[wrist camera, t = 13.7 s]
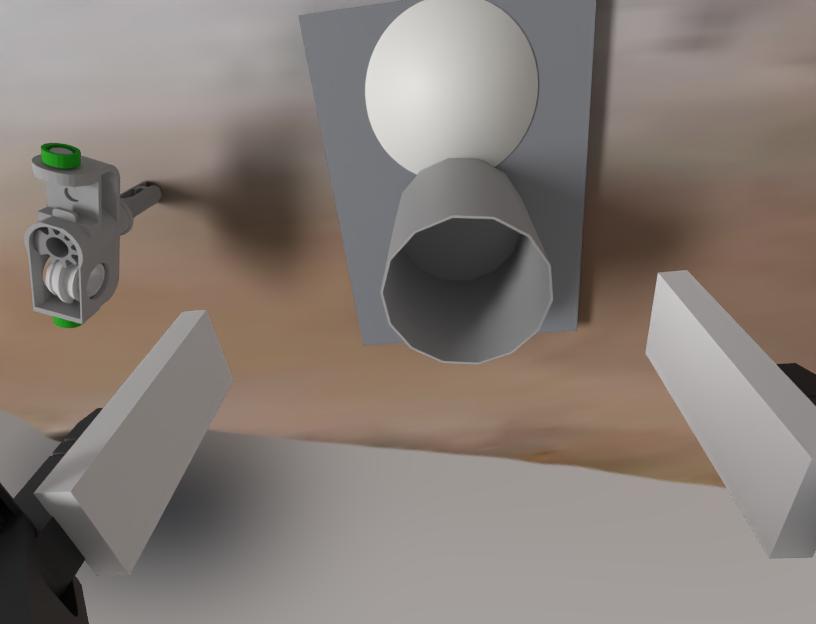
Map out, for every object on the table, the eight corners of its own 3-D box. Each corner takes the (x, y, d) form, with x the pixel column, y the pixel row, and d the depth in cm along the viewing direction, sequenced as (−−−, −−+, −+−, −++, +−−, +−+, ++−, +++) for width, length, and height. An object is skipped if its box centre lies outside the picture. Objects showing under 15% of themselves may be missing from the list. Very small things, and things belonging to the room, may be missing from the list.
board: (303, 15, 29) (280, 15, 25) (591, -26, 27) (618, -34, 23) (365, 336, 40) (356, 373, 36) (573, 322, 38) (588, 358, 34)
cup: (395, 275, 35) (381, 360, 27) (395, 156, 31) (378, 212, 22) (515, 279, 35) (540, 367, 26) (532, 160, 31) (568, 219, 22)
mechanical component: (176, 125, 32) (79, 164, 23) (167, 262, 37) (84, 336, 29) (129, 109, 32) (13, 144, 23) (127, 250, 37) (31, 321, 28)
